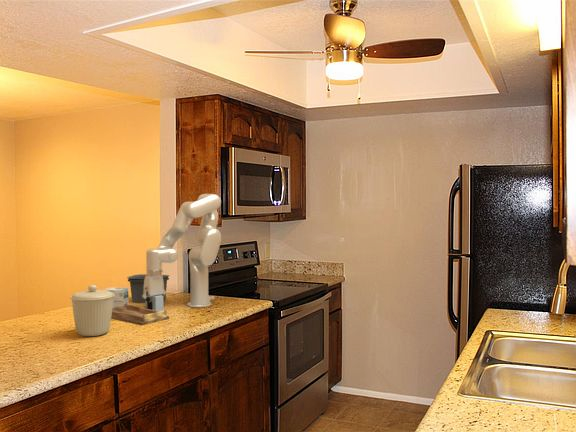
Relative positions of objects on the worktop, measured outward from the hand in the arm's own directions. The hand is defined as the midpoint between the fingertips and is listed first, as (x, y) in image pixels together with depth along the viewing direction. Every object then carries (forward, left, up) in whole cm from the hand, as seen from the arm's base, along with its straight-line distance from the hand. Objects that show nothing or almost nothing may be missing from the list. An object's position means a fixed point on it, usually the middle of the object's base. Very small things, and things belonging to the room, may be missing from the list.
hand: (154, 308), depth 278 cm
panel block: (0, 0, -2) cm, 2 cm away
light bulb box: (+8, -20, -2) cm, 22 cm away
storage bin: (-15, -22, -2) cm, 27 cm away
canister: (+45, +14, -2) cm, 47 cm away
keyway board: (+15, +4, -1) cm, 16 cm away
